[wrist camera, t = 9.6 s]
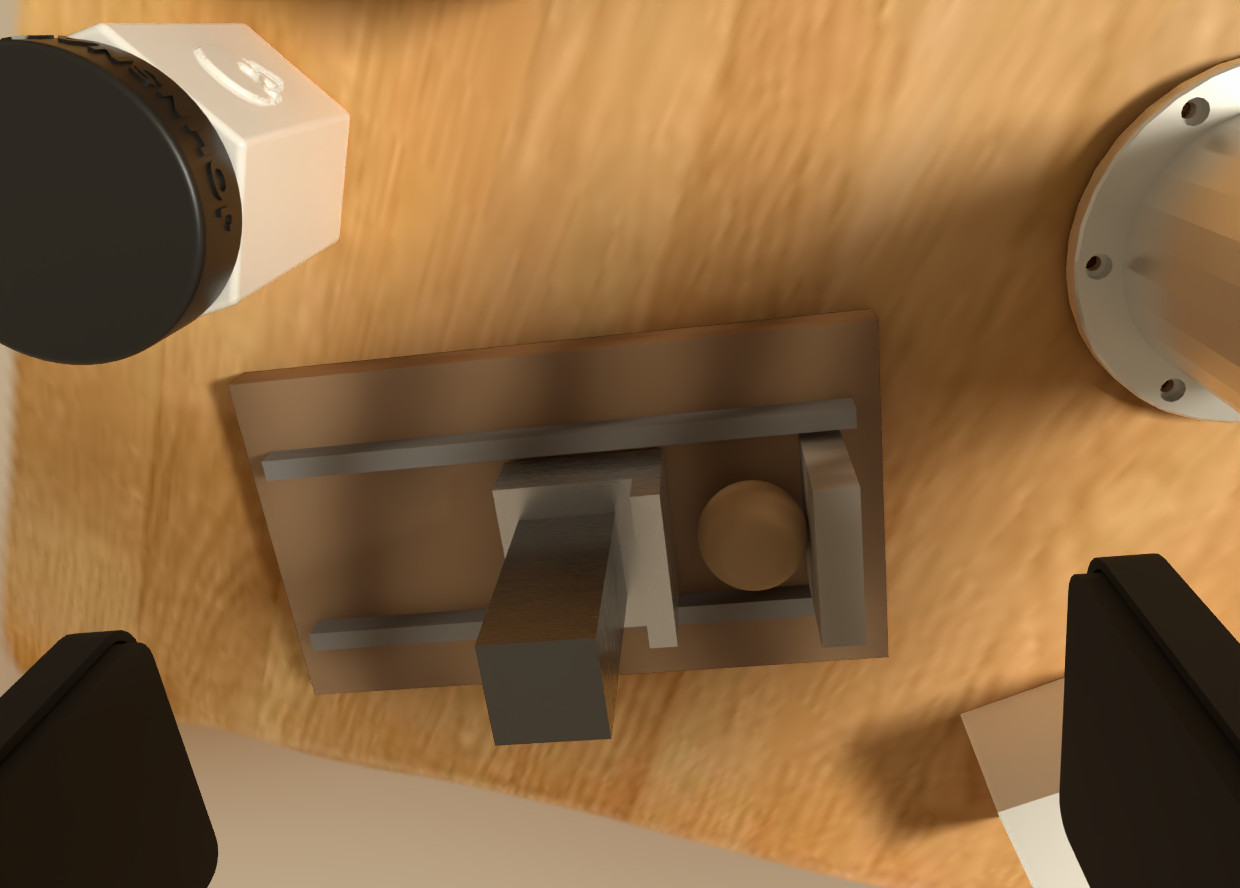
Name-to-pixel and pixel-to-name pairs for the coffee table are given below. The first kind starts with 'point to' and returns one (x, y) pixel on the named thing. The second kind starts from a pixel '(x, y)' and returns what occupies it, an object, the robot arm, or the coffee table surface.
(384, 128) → the coffee table surface
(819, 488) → the board
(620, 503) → the handle
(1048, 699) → the white cube
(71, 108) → the jar
